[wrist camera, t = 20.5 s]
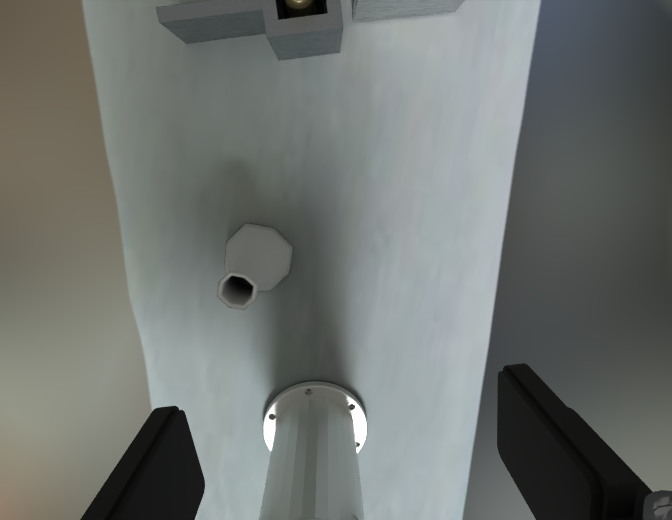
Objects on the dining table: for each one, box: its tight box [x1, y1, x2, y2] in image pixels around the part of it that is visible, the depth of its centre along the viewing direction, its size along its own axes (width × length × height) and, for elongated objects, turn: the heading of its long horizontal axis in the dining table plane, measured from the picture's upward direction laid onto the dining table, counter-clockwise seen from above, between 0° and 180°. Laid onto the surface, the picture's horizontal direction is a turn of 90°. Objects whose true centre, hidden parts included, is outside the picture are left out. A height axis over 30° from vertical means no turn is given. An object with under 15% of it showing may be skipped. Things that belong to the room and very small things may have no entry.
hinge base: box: [156, 0, 343, 60], centre depth 29 cm, size 6×14×7 cm, turn 97°
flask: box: [217, 223, 293, 310], centre depth 34 cm, size 7×7×10 cm
